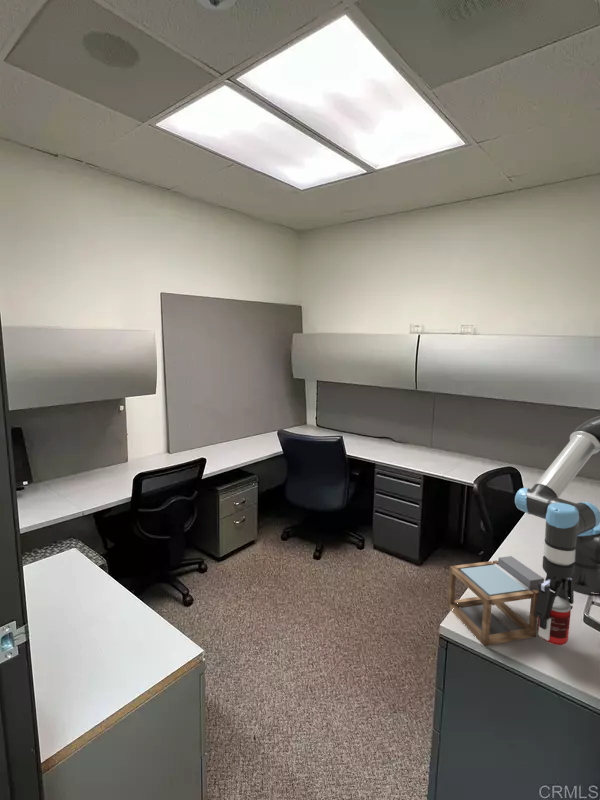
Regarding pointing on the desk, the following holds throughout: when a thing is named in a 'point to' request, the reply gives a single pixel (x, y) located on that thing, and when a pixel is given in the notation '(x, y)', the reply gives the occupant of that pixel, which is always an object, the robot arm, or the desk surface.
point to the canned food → (559, 622)
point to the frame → (481, 616)
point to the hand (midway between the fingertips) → (552, 632)
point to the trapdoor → (503, 577)
